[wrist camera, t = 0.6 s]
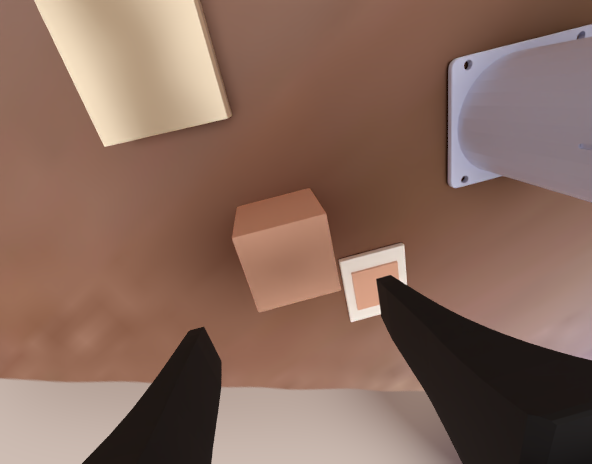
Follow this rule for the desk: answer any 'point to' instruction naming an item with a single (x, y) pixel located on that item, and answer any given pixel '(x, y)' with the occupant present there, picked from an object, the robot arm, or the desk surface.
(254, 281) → the terracotta cube
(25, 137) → the desk surface
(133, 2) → the maple base
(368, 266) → the tile
